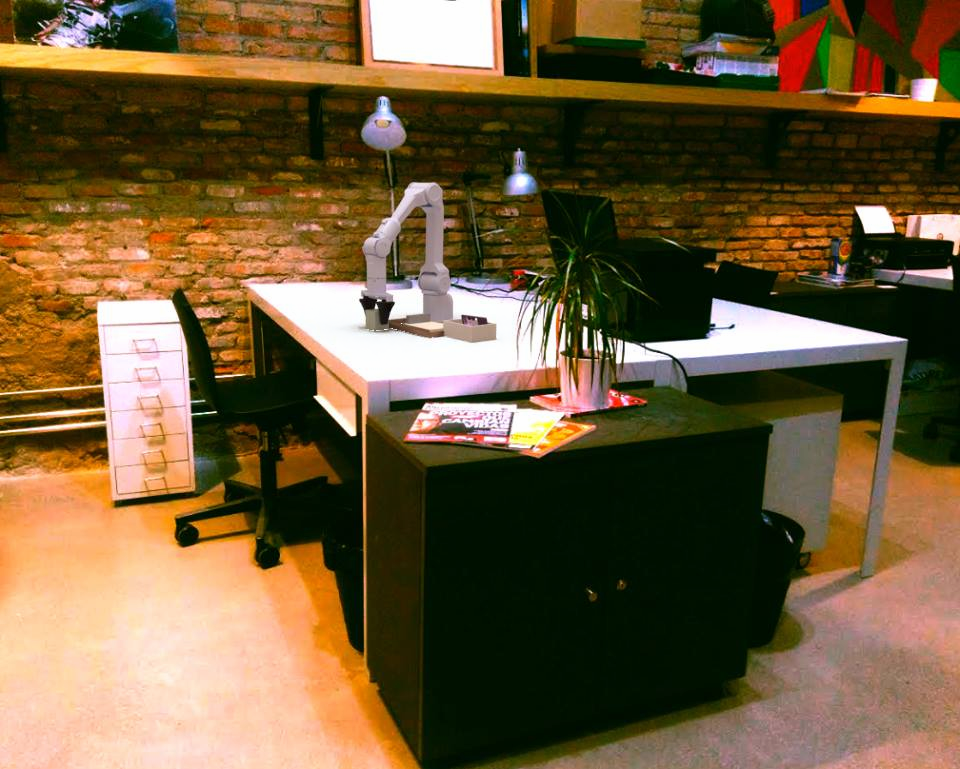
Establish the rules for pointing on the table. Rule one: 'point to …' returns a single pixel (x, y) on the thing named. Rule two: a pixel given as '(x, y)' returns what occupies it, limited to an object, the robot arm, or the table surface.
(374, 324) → the sage block
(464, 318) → the black piece
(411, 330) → the board
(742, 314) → the table surface
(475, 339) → the beige open box
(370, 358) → the table surface
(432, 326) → the lid
